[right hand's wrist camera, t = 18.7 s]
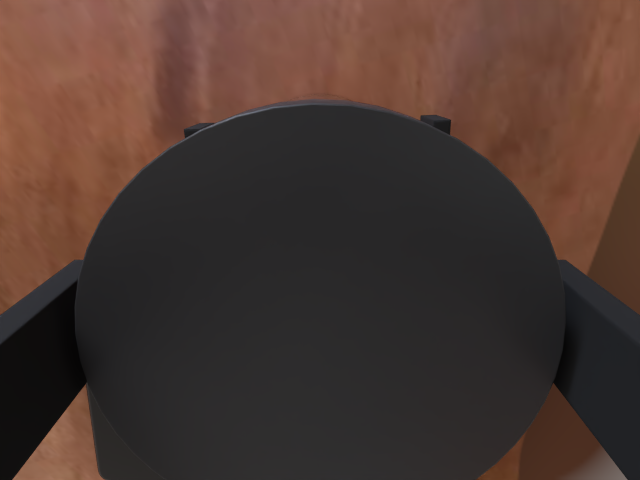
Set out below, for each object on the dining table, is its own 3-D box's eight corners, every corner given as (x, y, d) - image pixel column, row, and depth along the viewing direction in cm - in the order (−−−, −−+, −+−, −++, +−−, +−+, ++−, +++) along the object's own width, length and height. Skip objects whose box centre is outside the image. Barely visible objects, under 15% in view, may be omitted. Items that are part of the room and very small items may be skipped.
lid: (619, 201, 11) (671, 223, 9) (419, 513, 14) (432, 568, 13) (166, 17, 9) (134, 4, 8) (73, 414, 13) (38, 462, 11)
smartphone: (196, 478, 37) (191, 313, 32) (193, 487, 36) (187, 320, 31) (102, 473, 37) (80, 306, 31) (97, 482, 36) (73, 312, 31)
